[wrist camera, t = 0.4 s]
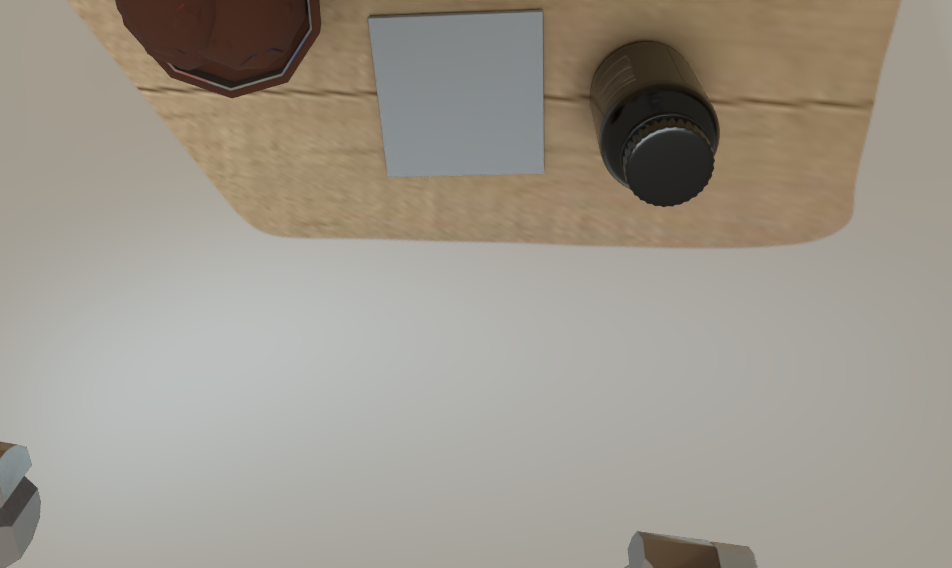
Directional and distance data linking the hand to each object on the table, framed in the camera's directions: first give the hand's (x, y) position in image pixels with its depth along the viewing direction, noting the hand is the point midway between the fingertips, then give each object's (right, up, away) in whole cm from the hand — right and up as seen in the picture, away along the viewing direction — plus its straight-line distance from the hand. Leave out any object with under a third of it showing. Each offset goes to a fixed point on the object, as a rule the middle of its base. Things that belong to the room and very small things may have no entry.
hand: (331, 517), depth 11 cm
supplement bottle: (+13, +16, +42) cm, 47 cm away
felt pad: (+1, +16, +43) cm, 45 cm away
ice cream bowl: (-11, +23, +39) cm, 47 cm away
